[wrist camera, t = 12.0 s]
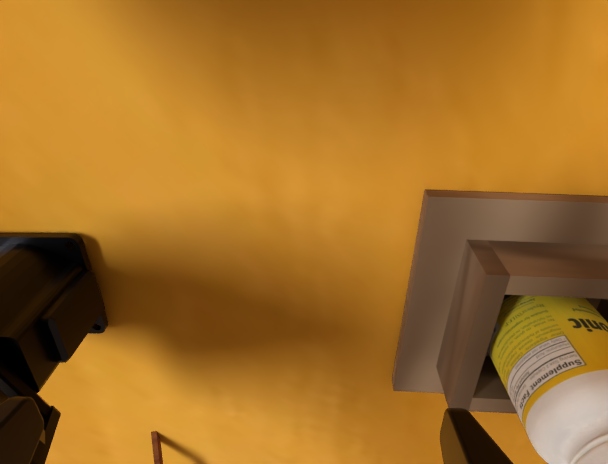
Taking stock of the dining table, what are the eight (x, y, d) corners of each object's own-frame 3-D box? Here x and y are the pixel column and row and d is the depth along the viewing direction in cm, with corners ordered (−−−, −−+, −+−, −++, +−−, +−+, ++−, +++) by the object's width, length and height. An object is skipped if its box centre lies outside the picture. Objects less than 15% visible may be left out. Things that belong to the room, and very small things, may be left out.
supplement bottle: (602, 311, 23) (772, 505, 14) (514, 364, 25) (615, 561, 16) (543, 251, 21) (695, 430, 12) (454, 313, 23) (532, 503, 14)
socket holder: (391, 380, 27) (401, 434, 24) (424, 189, 20) (444, 227, 17) (602, 390, 26) (642, 447, 23) (701, 199, 20) (776, 240, 17)
